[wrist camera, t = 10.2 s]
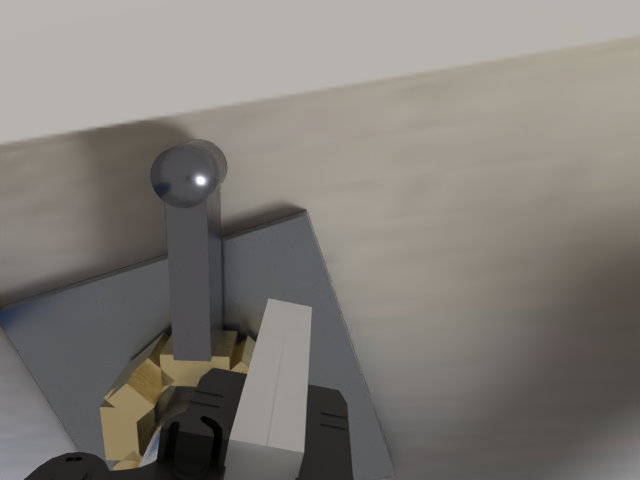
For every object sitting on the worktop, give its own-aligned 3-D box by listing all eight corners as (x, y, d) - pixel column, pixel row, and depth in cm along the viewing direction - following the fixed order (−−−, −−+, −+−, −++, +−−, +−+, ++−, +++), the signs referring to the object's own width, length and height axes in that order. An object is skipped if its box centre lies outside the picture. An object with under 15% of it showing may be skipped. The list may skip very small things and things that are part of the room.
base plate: (306, 209, 27) (305, 258, 19) (392, 461, 33) (417, 576, 25) (7, 304, 28) (-110, 385, 20) (141, 527, 34) (91, 655, 26)
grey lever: (290, 474, 31) (287, 527, 27) (129, 469, 30) (102, 523, 27) (304, 144, 24) (302, 154, 20) (94, 133, 23) (52, 141, 20)
